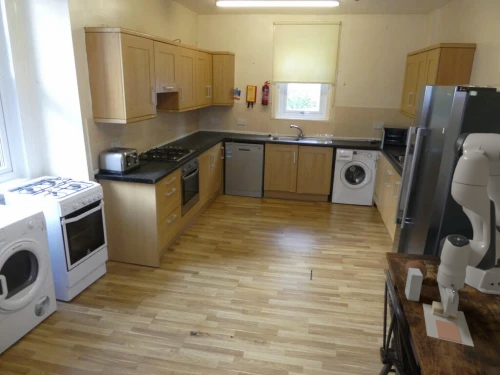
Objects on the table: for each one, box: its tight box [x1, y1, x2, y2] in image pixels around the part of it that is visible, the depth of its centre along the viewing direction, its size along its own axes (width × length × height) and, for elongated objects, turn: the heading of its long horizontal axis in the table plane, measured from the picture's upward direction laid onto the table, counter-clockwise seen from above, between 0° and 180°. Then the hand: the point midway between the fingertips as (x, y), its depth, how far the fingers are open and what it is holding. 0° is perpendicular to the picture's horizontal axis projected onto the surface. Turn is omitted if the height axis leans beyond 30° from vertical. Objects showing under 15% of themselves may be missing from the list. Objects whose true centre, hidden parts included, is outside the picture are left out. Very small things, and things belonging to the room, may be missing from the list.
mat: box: [422, 303, 475, 347], centre depth 128 cm, size 14×20×1 cm
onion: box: [403, 259, 428, 282], centre depth 157 cm, size 10×9×10 cm
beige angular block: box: [431, 300, 459, 320], centre depth 133 cm, size 8×4×3 cm, turn 69°
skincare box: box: [404, 268, 423, 302], centre depth 143 cm, size 6×4×12 cm
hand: (444, 311), depth 133 cm, fingers closed on beige angular block, 4 cm apart
